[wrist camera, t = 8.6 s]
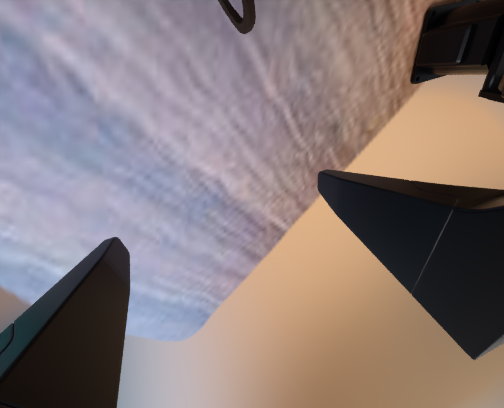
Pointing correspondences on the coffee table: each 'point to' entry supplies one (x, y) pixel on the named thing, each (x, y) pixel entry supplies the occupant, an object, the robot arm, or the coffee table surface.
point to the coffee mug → (240, 23)
